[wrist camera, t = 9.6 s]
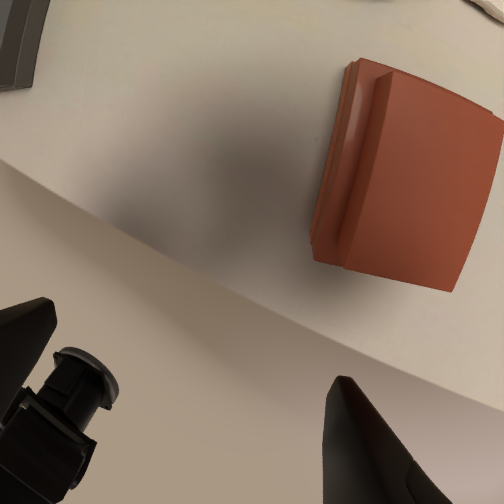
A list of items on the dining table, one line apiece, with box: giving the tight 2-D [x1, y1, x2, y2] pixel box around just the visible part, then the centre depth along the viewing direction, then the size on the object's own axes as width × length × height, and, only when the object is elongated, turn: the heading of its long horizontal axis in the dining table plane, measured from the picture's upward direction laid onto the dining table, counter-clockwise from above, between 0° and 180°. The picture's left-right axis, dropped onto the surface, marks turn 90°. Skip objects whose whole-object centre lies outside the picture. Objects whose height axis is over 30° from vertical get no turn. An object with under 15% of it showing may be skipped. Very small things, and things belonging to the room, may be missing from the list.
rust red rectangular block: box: [337, 70, 504, 292], centre depth 11 cm, size 8×6×2 cm
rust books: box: [309, 58, 493, 267], centre depth 14 cm, size 10×8×4 cm
